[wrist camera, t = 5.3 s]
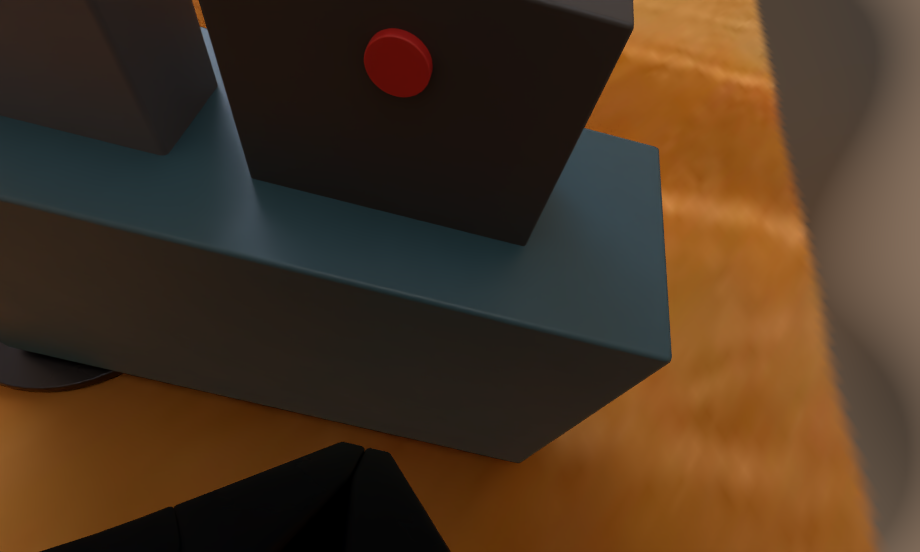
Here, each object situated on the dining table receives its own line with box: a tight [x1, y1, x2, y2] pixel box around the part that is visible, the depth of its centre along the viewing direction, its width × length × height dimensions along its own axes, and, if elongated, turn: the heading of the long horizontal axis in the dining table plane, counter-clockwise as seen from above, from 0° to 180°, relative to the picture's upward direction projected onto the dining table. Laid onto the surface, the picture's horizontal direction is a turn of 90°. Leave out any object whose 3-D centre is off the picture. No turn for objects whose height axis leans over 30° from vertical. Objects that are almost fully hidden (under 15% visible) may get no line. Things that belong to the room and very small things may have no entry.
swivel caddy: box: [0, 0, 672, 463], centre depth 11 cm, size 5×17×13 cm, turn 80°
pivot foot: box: [0, 342, 122, 392], centre depth 16 cm, size 7×7×1 cm
